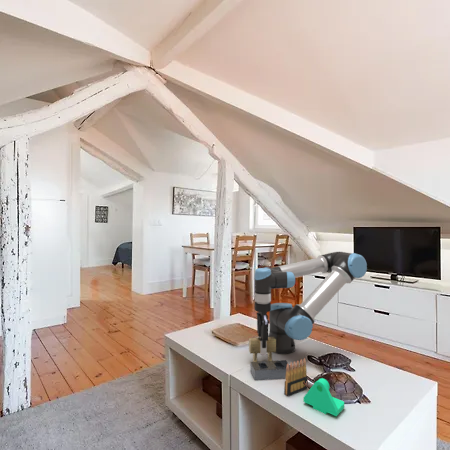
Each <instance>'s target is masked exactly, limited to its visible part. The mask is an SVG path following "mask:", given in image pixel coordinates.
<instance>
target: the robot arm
mask: <svg viewBox="0 0 450 450" xmlns="http://www.w3.org/2000/svg"><path fill="white" fill-rule="evenodd" d="M367 266H368V264H367V261H366V259H365V257H364V256H363V255H362V254H358V253H355V252H352V253H351V252H345V251H334V252H328V253H325V254H321V255H318V256H317V257H316V258H312V259H306V260H301V261H298V262H293V263H287V264H284V265H278V266H273V267H269V266H266V267H258V268H256V269H255V271H254V277H253V280H254V295H253V297H254V311H255V312H256V333H257V336H258V337H257V338H261V339H260V353H259V354H260V355H265V356H266V355H268V353H267V341H268V337H275V339H276V352H274V353H275V354H282V355H284V354H285V355H286V354H291V353H294V352H295V351H296V341H304V340H305V339H307V338H309V337H310V335H311V334H312V332H313V327H314V326H313V325H314V323H315V318H316V317H317V315H318V314H319V313H320V312H321V311H322V309H324V307H326V305H327V304H328V303H329V302H330V301H331V300H332V299H333V298H334V296H335V295H337V293H338V292H339V291H340V290H341V289H342V288H343V287H344V286H345V285H346V284H351V283H352V282H353V281H354V280H355V279H361V278H362V277H364V276H365V275H366V273H367V270H368V267H367ZM317 273H323V274H325V273H329V274H328V275H327V276H326V277H325V278H324V279H323V280H322V281H321V282H320V283H319V284H318V285H317V286H316V287H315V289H314V290H313V291H311V293H310V294H309V295H308V296H307V297H306V298H305V299H304V300H303V301H302V302H301V303H300V304H295V305H294V306H293V304H292V303H288V302H275V303H271V302H272V289H288V288H294V286H295V285H296V278H299V277H303V276H309V275H312V274H317ZM268 313H269V316H268Z"/></svg>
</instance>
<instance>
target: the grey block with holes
mask: <svg viewBox="0 0 450 450" xmlns="http://www.w3.org/2000/svg"><path fill="white" fill-rule="evenodd" d="M287 364H289V362H288V361H287V359H286V360H284V359H283V360H281V359H280V360H272V361H268V360H266V361H265V360H264V361H257V362H253V361H250V373H251V376H252V378H253V380H254V381H267V380H270V381H271V380H282V379H285V380H286V367H287ZM289 370H290V364H289Z"/></svg>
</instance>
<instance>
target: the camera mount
mask: <svg viewBox="0 0 450 450" xmlns="http://www.w3.org/2000/svg"><path fill="white" fill-rule="evenodd" d="M302 402H304V403H305V404H307V405H310V406H312V409H313V410H315V411H318V412H319V413H322V414H324V415H327V414H331V415H332V416H335V417H338V415H340V413H341V412H342V411H343V409H345V401H344V400H341V399H339V398H336V397H334V396H332V394H331V392H330V383H329V381H328V380H327V379H325V378H323V377H322V378H319V379H318V380H316V381H315V382H314V383H313V384H312V386H311V387H310V388H309V389H308V391H307V392H306V394H305V395H304V396H303V401H302Z"/></svg>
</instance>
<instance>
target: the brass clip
mask: <svg viewBox="0 0 450 450" xmlns="http://www.w3.org/2000/svg"><path fill="white" fill-rule="evenodd" d="M248 339H249V340H248V352H249V353H250V354H252V362H258V354H260V339H261V338H258V337H248ZM275 352H276V339H275V337H268V341H267V361H273V353H275Z"/></svg>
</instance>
